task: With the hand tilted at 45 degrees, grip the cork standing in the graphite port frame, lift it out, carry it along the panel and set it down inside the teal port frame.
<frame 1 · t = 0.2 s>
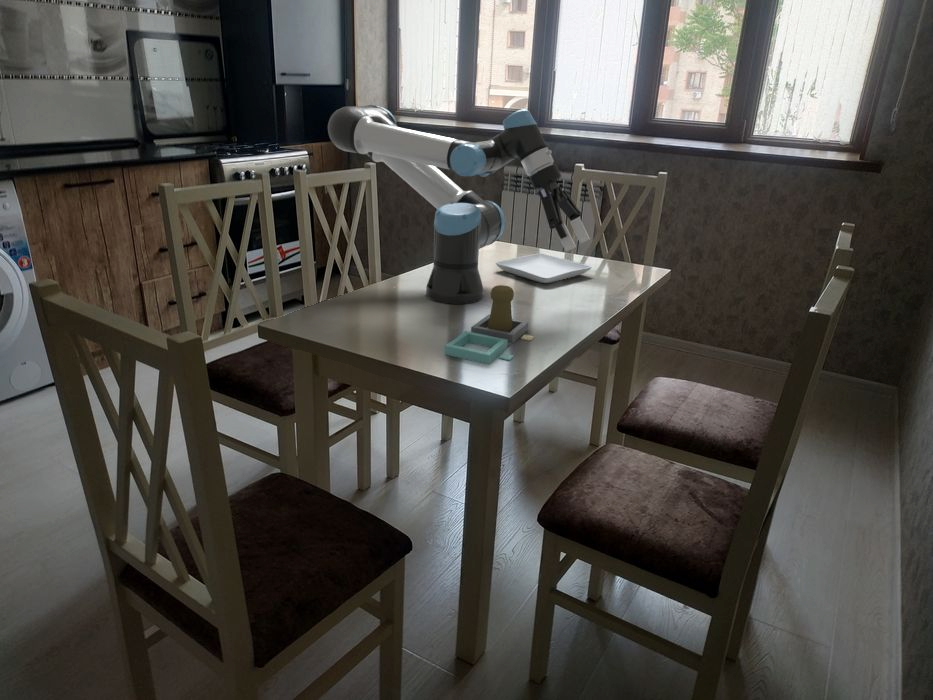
hand: (578, 245, 170), 15 cm above the table, tool tilted 35°, fingers open, 13 cm apart
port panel: (488, 341, 146), on the table
salad plate: (542, 275, 200), on the table
cork: (499, 333, 152), resting in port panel
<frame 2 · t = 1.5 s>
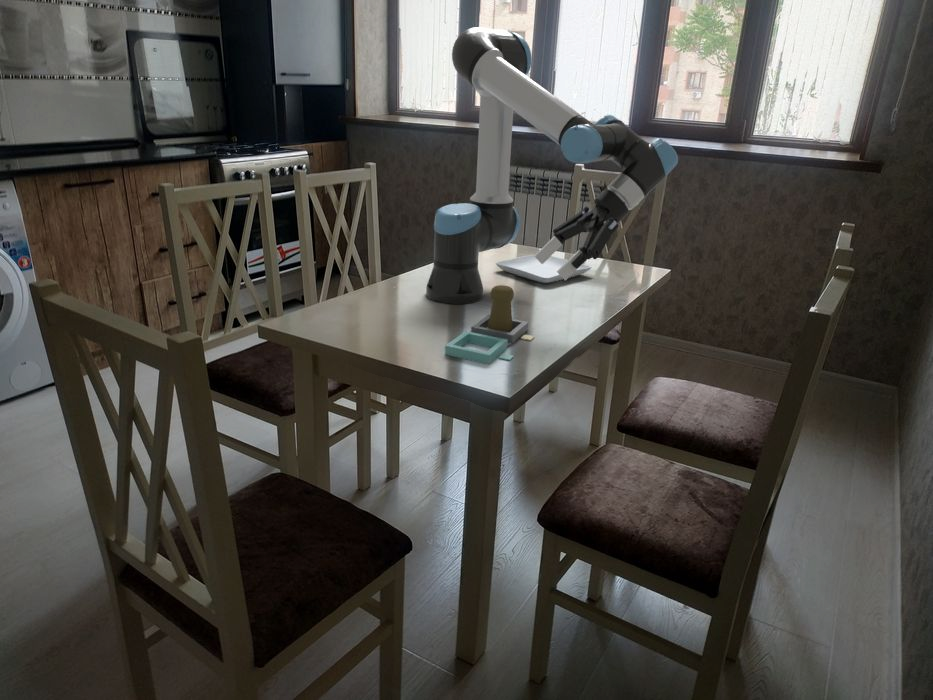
hand: (549, 268, 149), 15 cm above the table, tool tilted 45°, fingers open, 13 cm apart
nothing on the table moved.
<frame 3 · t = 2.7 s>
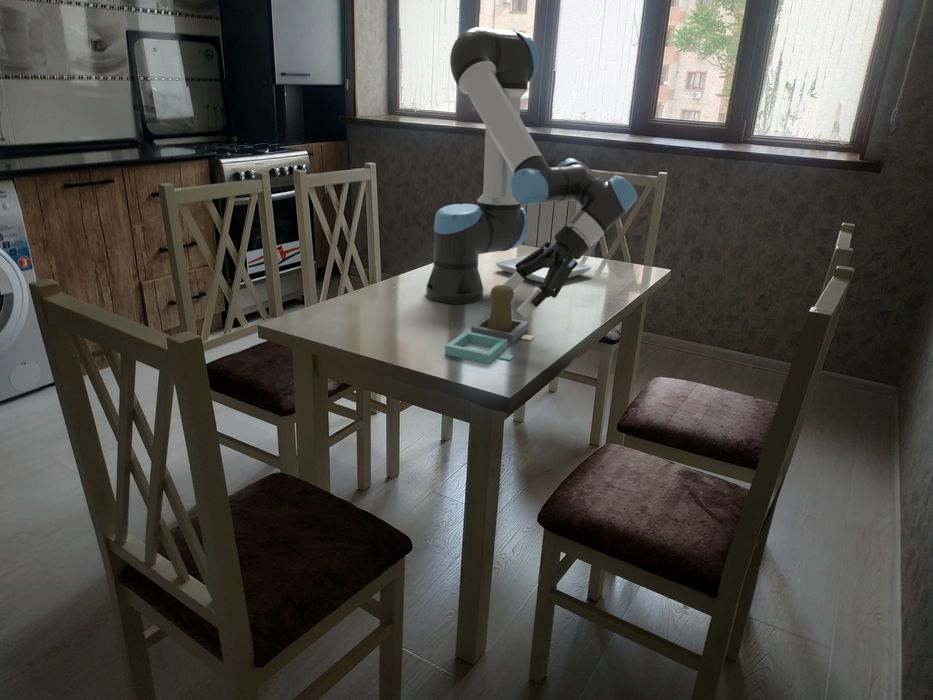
hand: (510, 304, 148), 7 cm above the table, tool tilted 45°, fingers open, 13 cm apart
nothing on the table moved.
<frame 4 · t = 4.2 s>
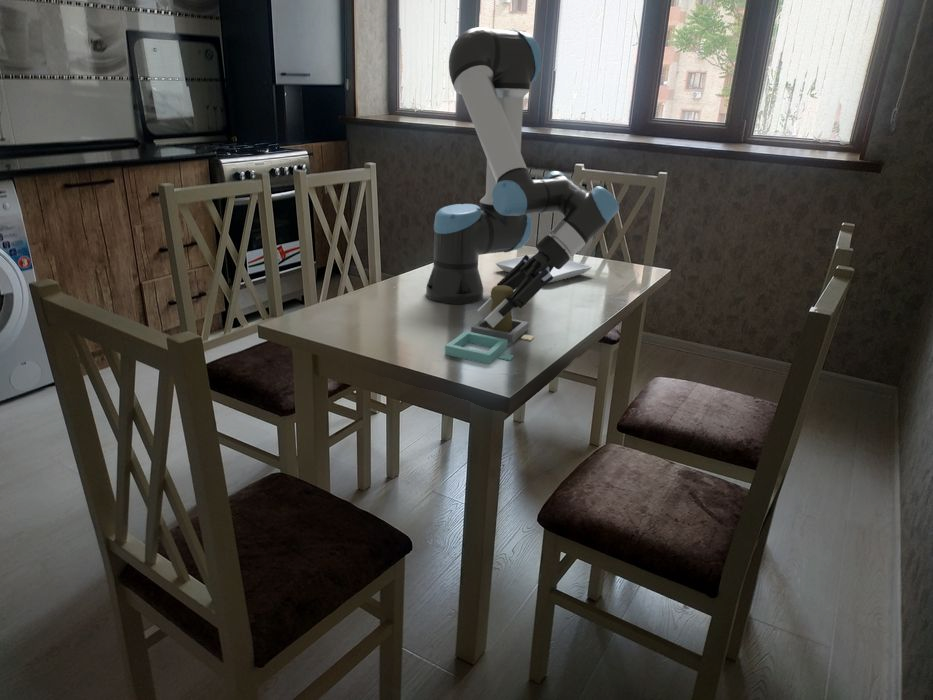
hand: (485, 318, 150), 4 cm above the table, tool tilted 45°, fingers closed on cork, 5 cm apart
cork: (499, 333, 152), resting in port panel, touching gripper
everything else where it was.
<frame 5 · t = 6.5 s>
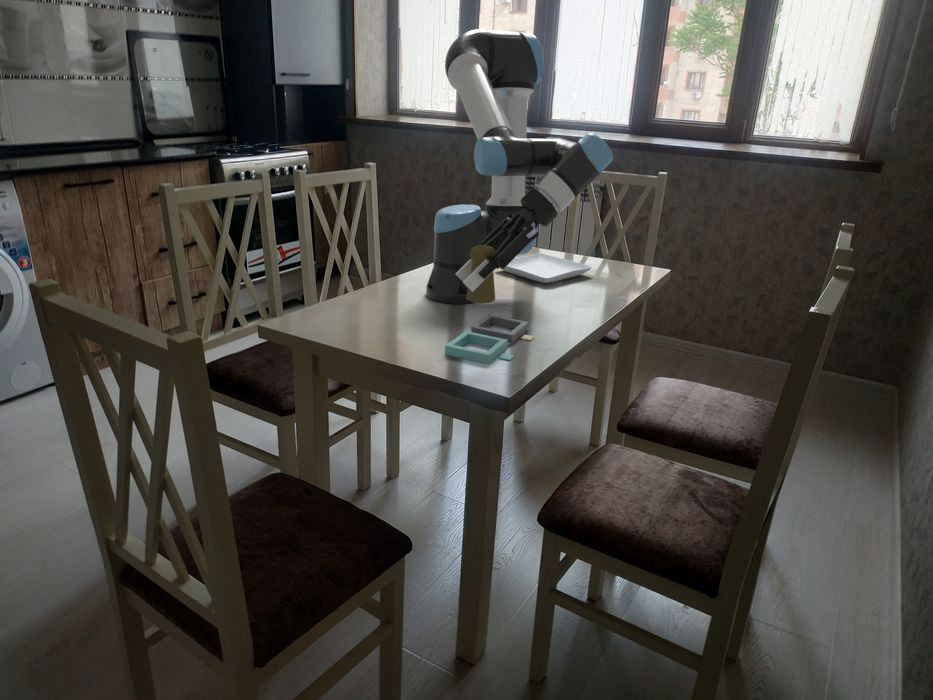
hand: (463, 282, 134), 15 cm above the table, tool tilted 45°, fingers closed on cork, 5 cm apart
cork: (480, 299, 137), point 12 cm above the table, touching gripper
everything else where it was.
when the fingers open (5 cm above the table, at t = 8.7 s): cork drops 1 cm, resting in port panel.
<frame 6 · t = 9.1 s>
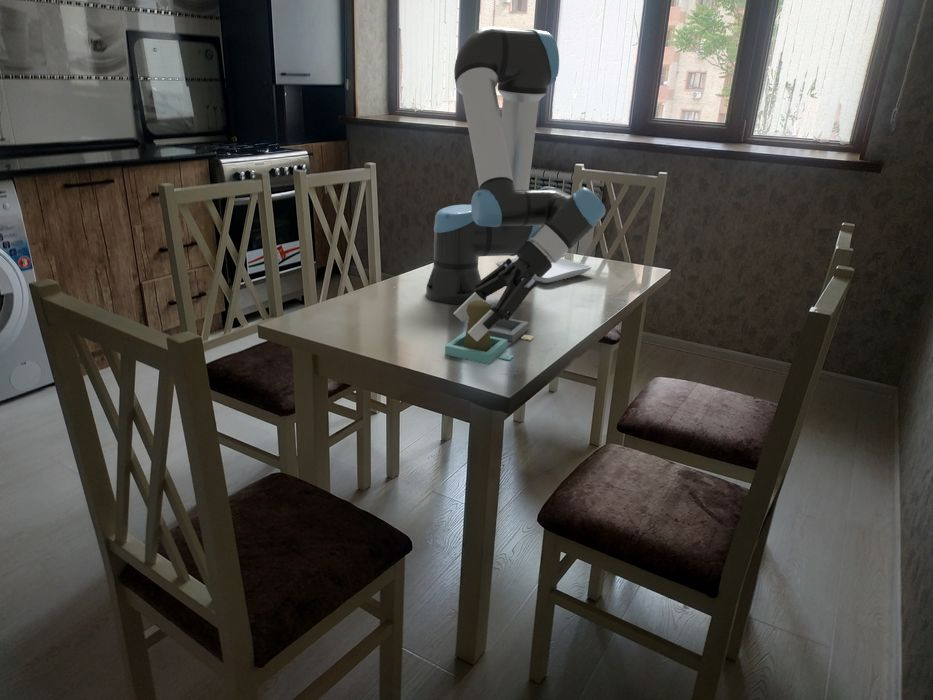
hand: (464, 327, 138), 6 cm above the table, tool tilted 45°, fingers open, 11 cm apart
cork: (476, 352, 141), resting in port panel
everything else where it was.
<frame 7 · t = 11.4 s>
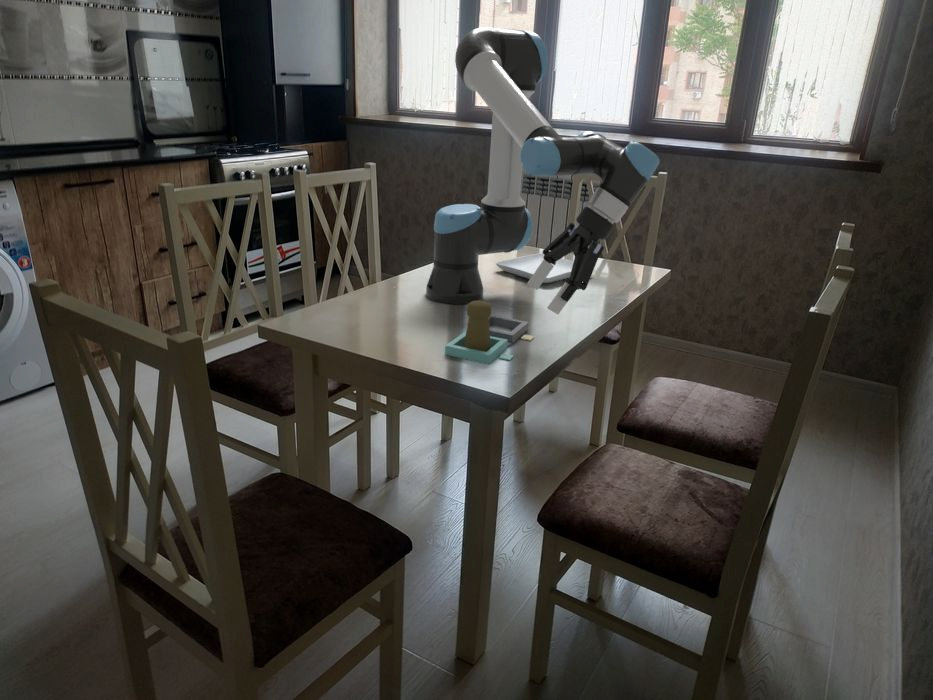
hand: (541, 298, 143), 10 cm above the table, tool tilted 30°, fingers open, 13 cm apart
nothing on the table moved.
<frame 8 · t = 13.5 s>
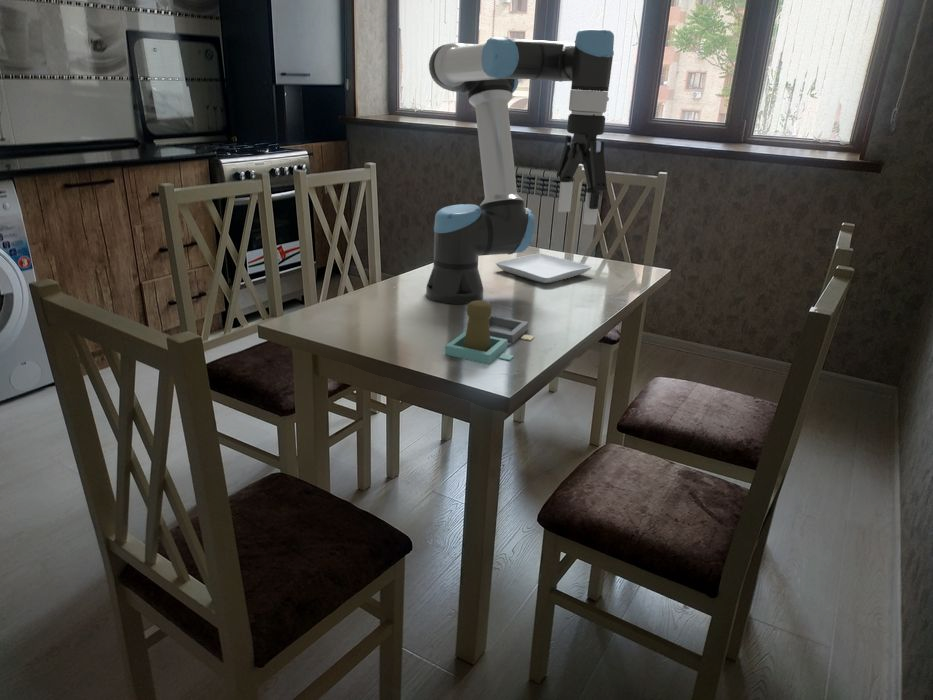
hand: (576, 217, 143), 27 cm above the table, tool pointing down, fingers open, 13 cm apart
nothing on the table moved.
at the end: cork inside the target area (0.1 cm from its centre), resting in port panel; cork tilted 0°; the gripper is holding nothing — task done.
